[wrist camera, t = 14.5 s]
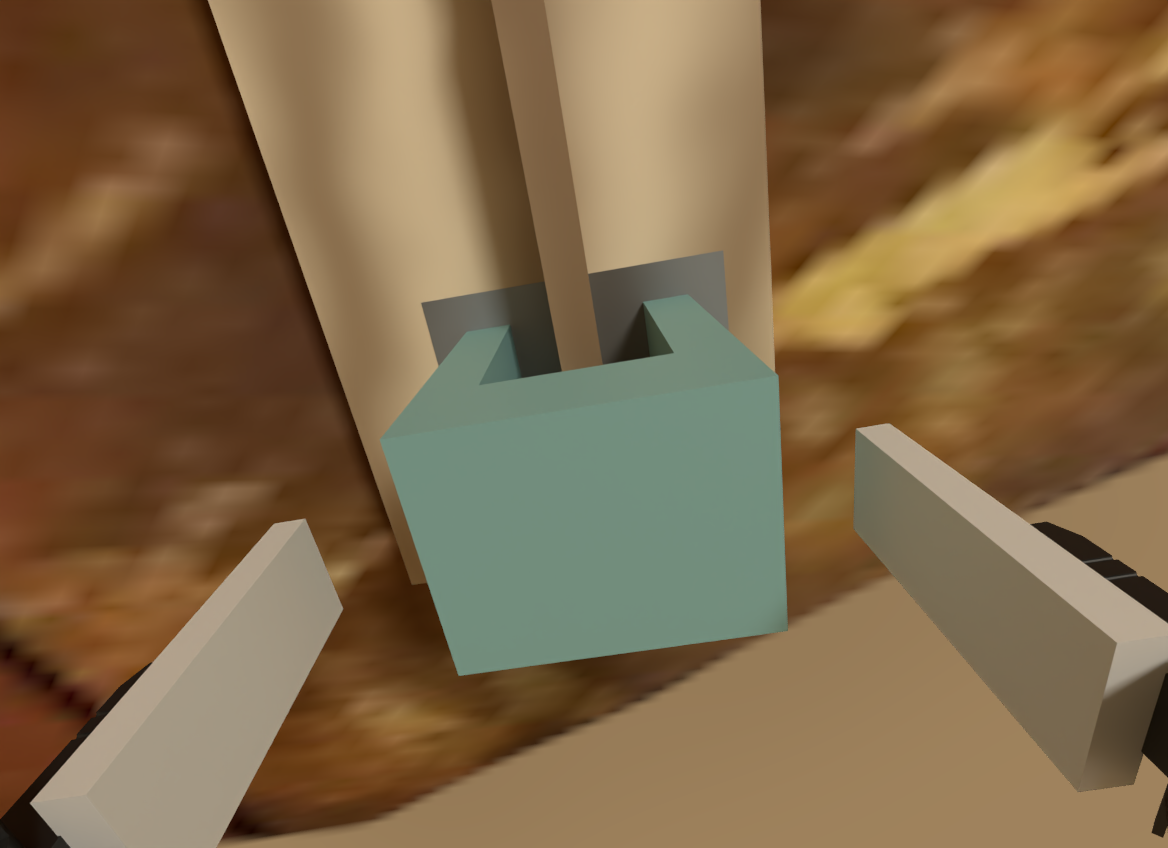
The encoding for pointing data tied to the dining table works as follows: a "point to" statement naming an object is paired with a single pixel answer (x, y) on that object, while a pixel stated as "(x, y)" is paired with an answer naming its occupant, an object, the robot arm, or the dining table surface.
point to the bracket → (596, 496)
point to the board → (508, 179)
